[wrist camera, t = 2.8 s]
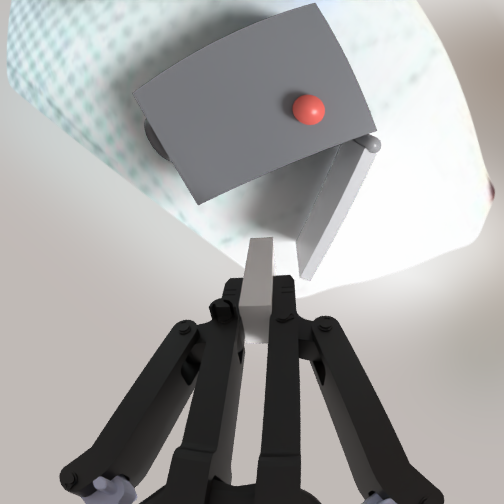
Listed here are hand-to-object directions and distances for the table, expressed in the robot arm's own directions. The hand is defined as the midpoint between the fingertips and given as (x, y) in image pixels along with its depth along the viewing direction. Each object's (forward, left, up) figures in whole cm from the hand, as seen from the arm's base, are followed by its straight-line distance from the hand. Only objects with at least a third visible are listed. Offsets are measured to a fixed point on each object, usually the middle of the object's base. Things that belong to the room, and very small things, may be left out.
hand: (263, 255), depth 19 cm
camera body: (-9, +4, -10) cm, 14 cm away
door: (+1, +6, -9) cm, 11 cm away
